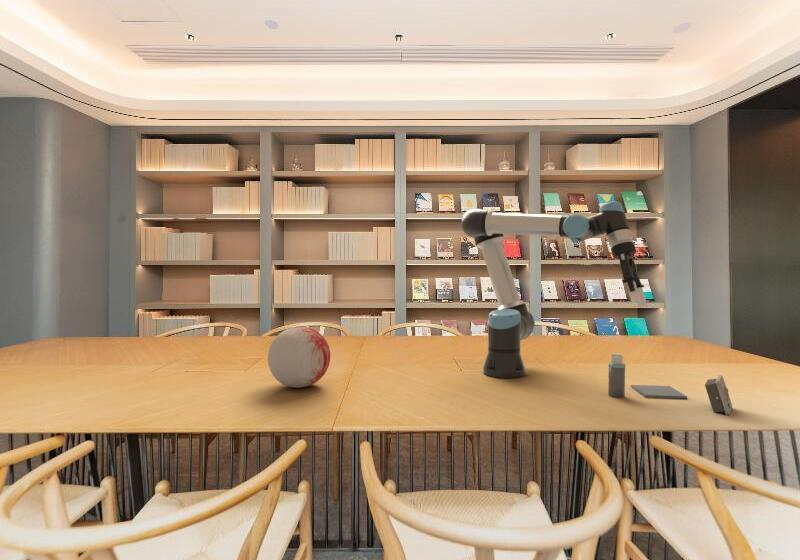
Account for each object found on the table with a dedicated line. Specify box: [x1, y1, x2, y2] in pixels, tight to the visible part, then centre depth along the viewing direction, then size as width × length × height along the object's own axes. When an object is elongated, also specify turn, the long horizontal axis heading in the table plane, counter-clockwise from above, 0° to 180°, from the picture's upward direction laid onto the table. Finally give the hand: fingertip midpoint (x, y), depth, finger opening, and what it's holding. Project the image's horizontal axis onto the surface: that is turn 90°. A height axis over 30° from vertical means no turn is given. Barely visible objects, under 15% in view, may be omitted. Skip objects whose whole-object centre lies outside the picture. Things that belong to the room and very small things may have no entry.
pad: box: [630, 384, 688, 400], centre depth 149 cm, size 12×12×1 cm
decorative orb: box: [267, 326, 331, 389], centre depth 156 cm, size 21×20×20 cm
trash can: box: [607, 353, 626, 399], centre depth 146 cm, size 5×5×13 cm
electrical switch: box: [704, 374, 733, 416], centre depth 132 cm, size 9×5×9 cm, turn 141°
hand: (639, 304), depth 156 cm, fingers open, 13 cm apart
